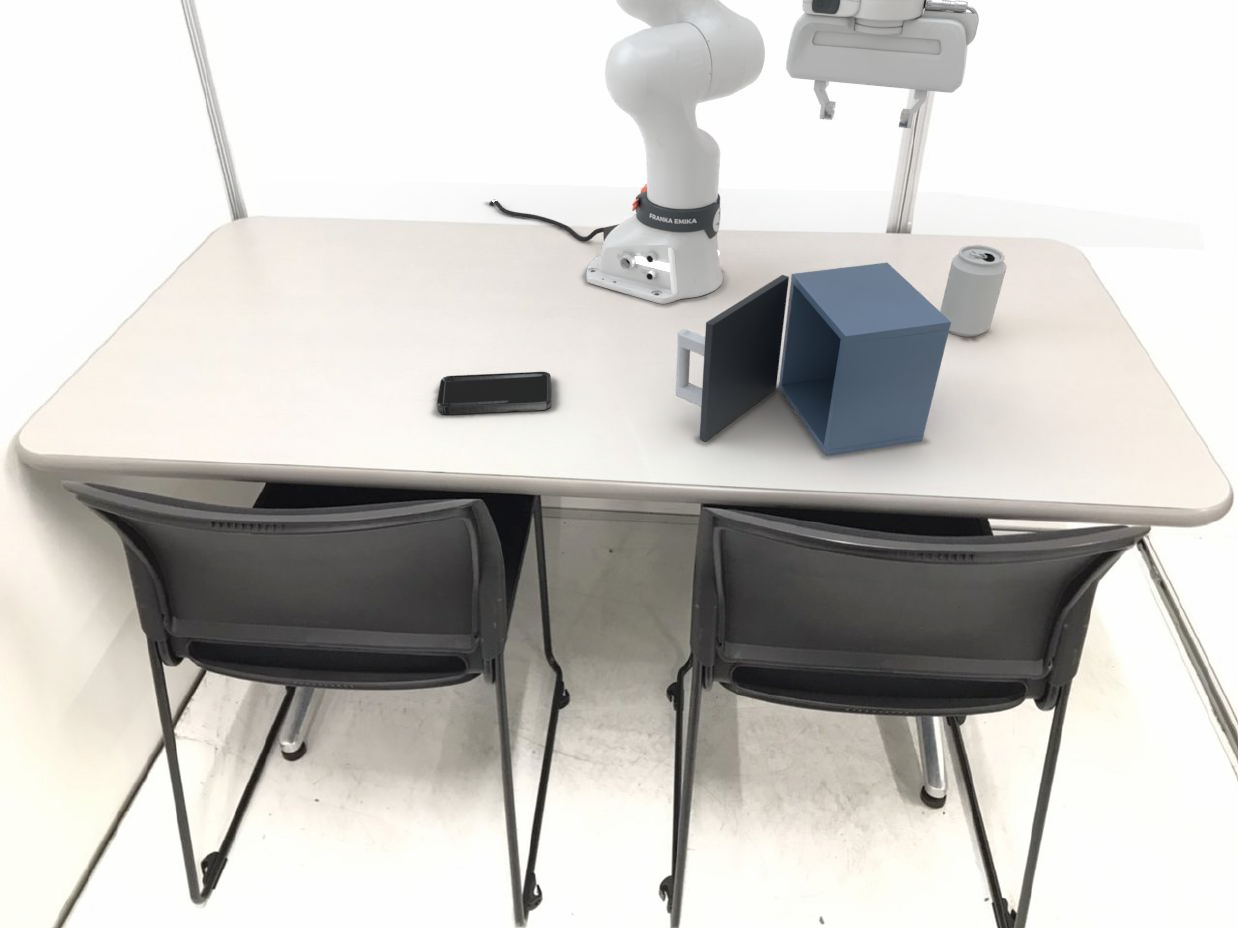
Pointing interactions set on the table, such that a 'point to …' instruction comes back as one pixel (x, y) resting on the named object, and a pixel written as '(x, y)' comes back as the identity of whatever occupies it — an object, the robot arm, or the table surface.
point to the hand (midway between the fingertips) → (865, 122)
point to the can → (973, 289)
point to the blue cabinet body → (861, 357)
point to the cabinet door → (734, 357)
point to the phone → (494, 393)
